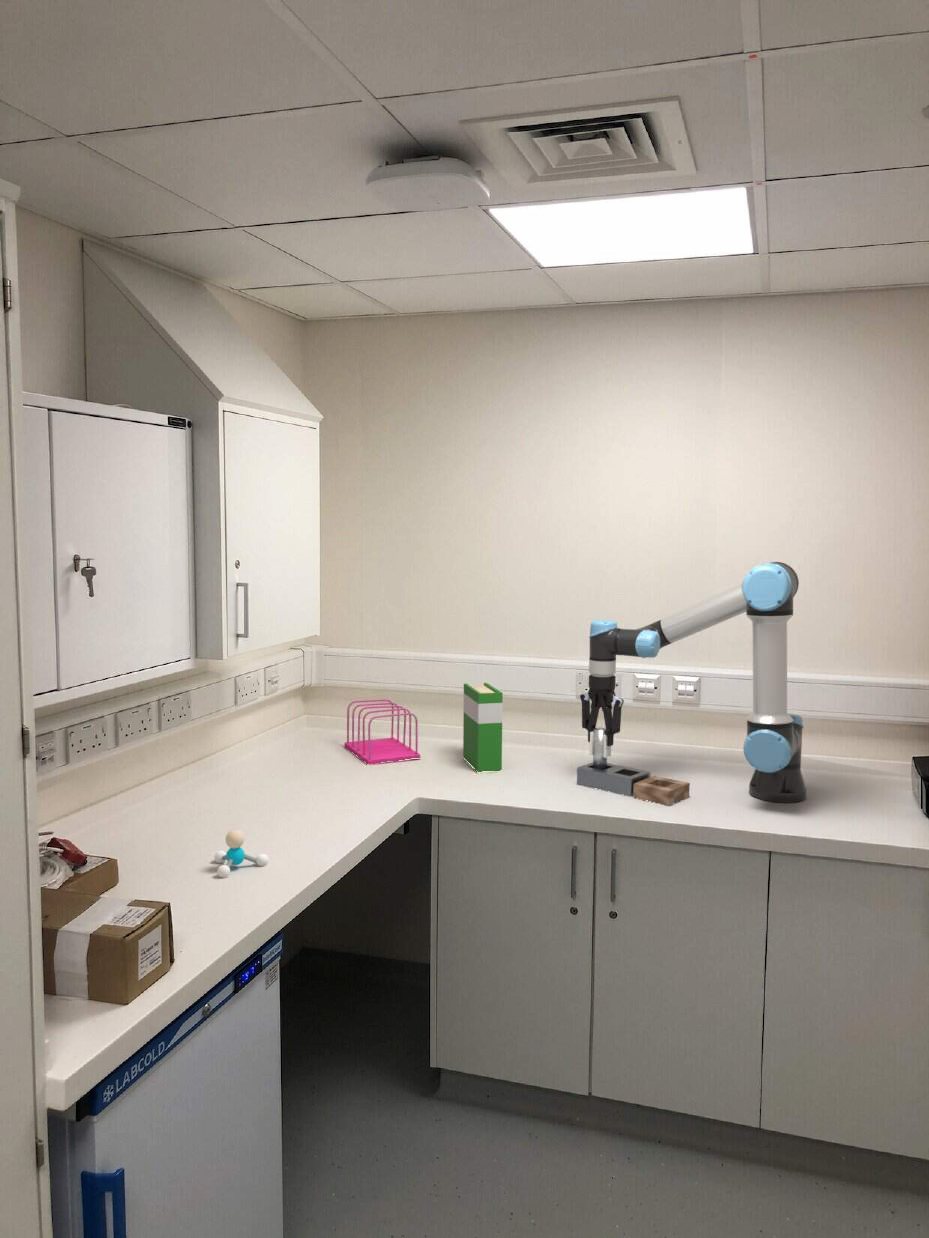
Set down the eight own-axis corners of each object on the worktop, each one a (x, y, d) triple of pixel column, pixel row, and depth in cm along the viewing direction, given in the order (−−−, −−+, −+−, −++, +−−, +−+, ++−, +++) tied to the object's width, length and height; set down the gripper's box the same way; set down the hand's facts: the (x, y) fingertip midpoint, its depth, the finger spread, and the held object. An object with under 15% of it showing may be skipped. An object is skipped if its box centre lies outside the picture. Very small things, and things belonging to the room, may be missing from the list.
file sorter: (393, 742, 328) (393, 697, 326) (420, 760, 305) (420, 711, 304) (344, 747, 321) (343, 700, 319) (367, 765, 298) (367, 715, 297)
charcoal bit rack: (649, 789, 274) (650, 771, 274) (631, 796, 267) (631, 779, 266) (596, 777, 286) (596, 760, 286) (576, 784, 279) (577, 767, 278)
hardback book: (463, 758, 307) (463, 683, 304) (485, 757, 309) (486, 682, 306) (477, 773, 290) (478, 693, 287) (501, 771, 292) (502, 692, 289)
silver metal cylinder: (609, 776, 279) (610, 728, 278) (601, 779, 276) (602, 731, 275) (597, 774, 282) (598, 726, 280) (589, 776, 279) (590, 729, 277)
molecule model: (233, 883, 204) (232, 843, 203) (191, 872, 210) (190, 833, 209) (270, 865, 215) (270, 826, 214) (229, 855, 220) (229, 818, 219)
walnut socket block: (689, 797, 267) (689, 782, 266) (668, 806, 259) (669, 791, 258) (654, 789, 274) (654, 775, 274) (633, 797, 266) (633, 783, 265)
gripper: (635, 676, 273) (632, 757, 276) (584, 669, 284) (583, 747, 287) (620, 679, 268) (618, 762, 270) (569, 672, 279) (568, 752, 281)
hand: (600, 755), depth 278 cm, fingers closed on silver metal cylinder, 4 cm apart
